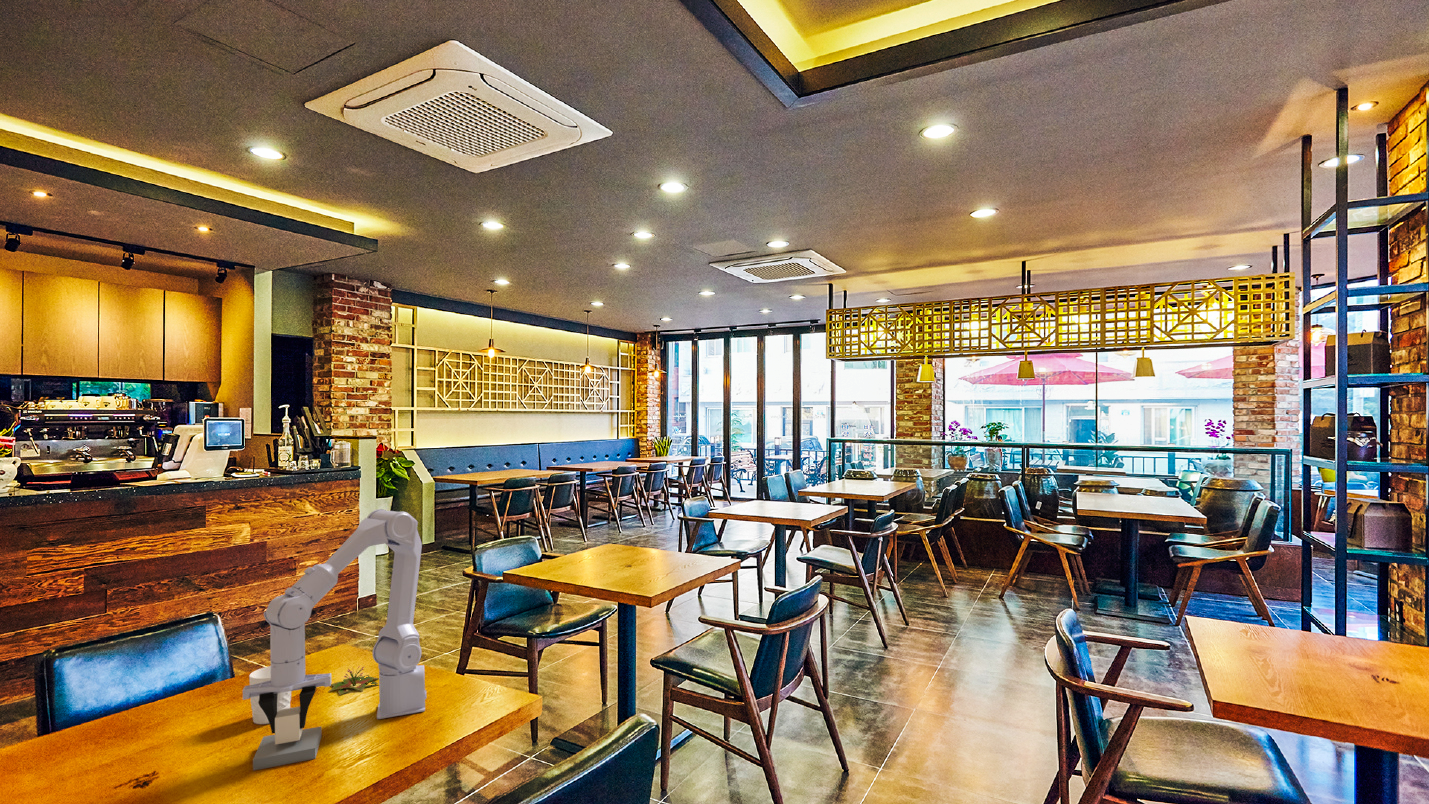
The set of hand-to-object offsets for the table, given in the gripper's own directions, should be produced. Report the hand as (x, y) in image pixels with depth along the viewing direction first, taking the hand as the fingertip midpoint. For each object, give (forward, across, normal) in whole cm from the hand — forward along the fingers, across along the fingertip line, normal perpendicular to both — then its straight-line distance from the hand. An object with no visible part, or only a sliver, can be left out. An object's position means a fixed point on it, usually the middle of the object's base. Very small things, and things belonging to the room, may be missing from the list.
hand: (288, 728), depth 133 cm
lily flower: (+5, +9, +32) cm, 34 cm away
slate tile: (+5, 0, 0) cm, 5 cm away
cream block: (+2, 0, 0) cm, 2 cm away
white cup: (+5, -6, +20) cm, 21 cm away
